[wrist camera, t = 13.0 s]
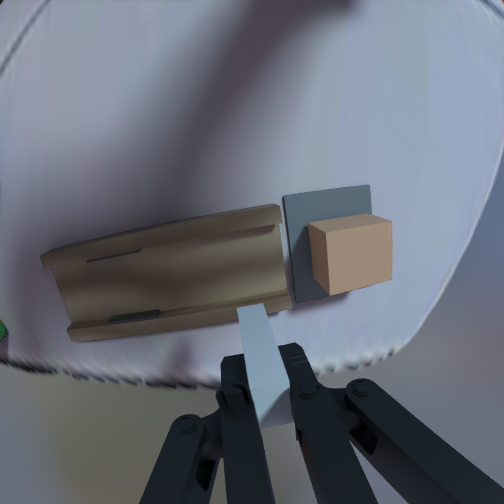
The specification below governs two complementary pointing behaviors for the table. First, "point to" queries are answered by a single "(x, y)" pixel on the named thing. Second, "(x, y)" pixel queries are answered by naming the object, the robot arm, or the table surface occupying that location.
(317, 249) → the block
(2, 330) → the chalk box
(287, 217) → the mat
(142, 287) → the chute
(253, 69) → the table surface
